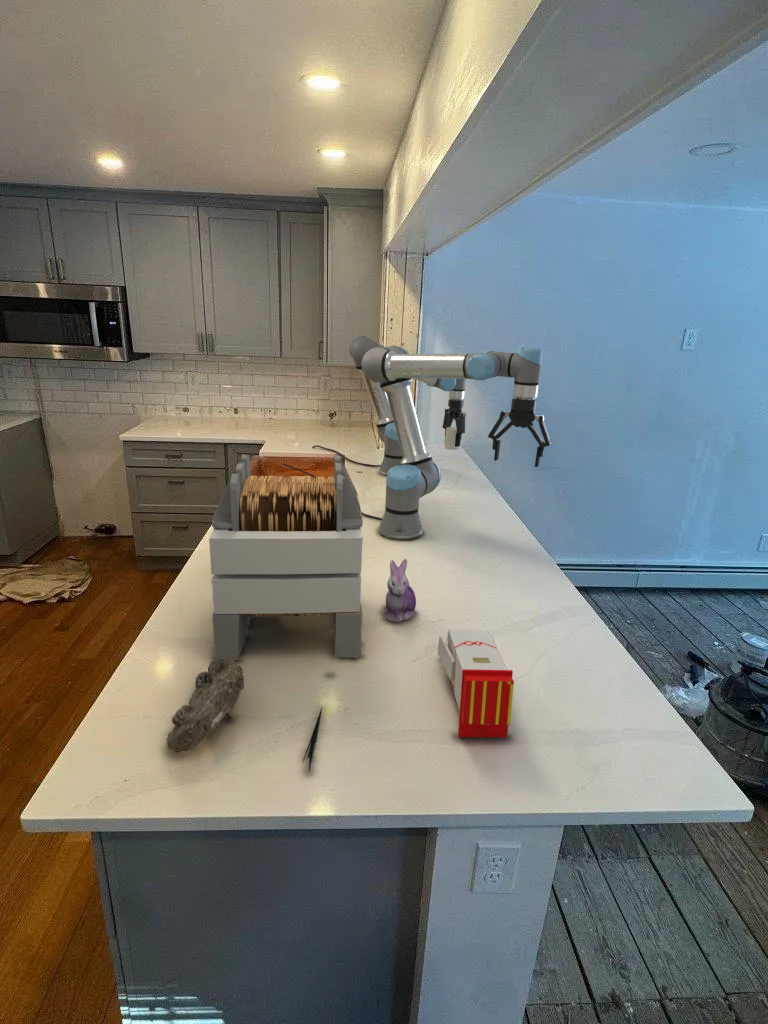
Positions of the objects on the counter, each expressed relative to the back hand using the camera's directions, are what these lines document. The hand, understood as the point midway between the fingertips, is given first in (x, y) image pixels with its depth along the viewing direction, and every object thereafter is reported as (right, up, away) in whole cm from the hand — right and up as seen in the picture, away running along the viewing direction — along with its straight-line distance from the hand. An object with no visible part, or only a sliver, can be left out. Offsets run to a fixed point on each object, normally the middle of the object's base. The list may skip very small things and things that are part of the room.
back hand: (452, 444), depth 287 cm
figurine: (-31, -61, -140) cm, 155 cm away
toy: (-17, -72, -169) cm, 184 cm away
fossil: (-67, -73, -179) cm, 205 cm away
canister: (0, -2, +1) cm, 2 cm away
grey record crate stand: (-58, -62, -145) cm, 168 cm away
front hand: (+9, -18, -100) cm, 102 cm away
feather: (-47, -74, -178) cm, 199 cm away
